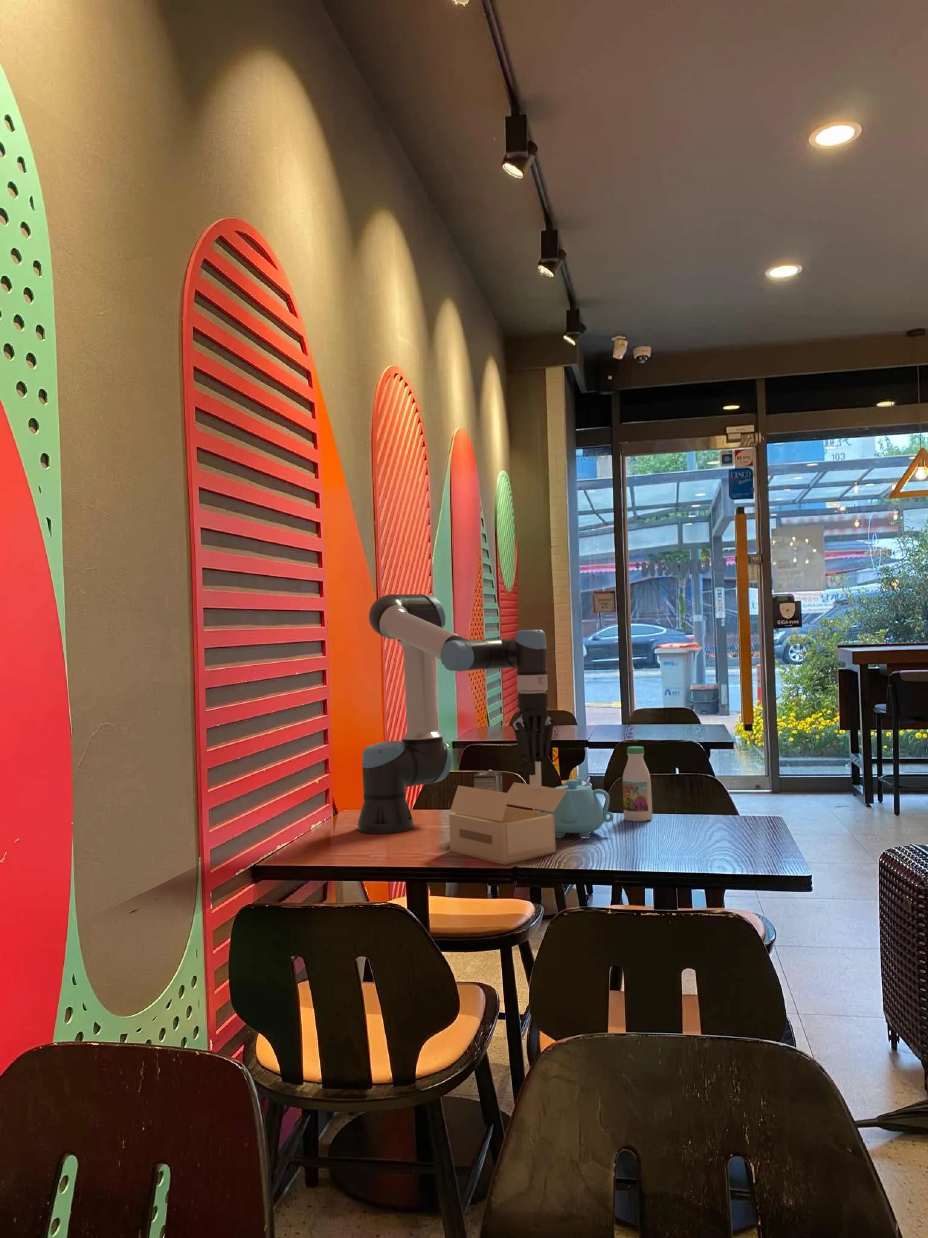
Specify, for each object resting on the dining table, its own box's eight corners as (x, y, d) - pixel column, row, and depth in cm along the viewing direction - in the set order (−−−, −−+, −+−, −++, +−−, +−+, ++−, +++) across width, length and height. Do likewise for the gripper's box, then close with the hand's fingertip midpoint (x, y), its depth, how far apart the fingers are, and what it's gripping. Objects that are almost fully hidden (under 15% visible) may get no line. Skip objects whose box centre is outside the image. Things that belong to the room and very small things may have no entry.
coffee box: (480, 831, 251) (478, 771, 252) (504, 831, 250) (502, 770, 251) (474, 838, 242) (472, 776, 243) (498, 838, 241) (496, 775, 242)
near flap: (450, 811, 228) (458, 785, 230) (450, 811, 228) (459, 785, 230) (500, 821, 213) (509, 793, 215) (501, 821, 213) (510, 793, 215)
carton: (449, 851, 229) (448, 814, 229) (500, 841, 238) (498, 805, 239) (504, 865, 212) (503, 824, 213) (556, 853, 222) (555, 815, 222)
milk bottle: (631, 816, 266) (628, 745, 266) (657, 818, 261) (654, 745, 262) (619, 820, 260) (616, 747, 260) (645, 823, 255) (642, 748, 256)
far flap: (500, 802, 238) (514, 782, 241) (501, 803, 238) (514, 783, 241) (552, 811, 223) (566, 789, 226) (553, 812, 223) (566, 790, 226)
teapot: (582, 825, 255) (580, 773, 256) (623, 837, 237) (621, 781, 238) (529, 832, 248) (527, 778, 249) (567, 845, 231) (565, 787, 231)
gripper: (522, 693, 227) (526, 792, 226) (562, 691, 234) (565, 786, 234) (502, 693, 233) (505, 789, 232) (541, 690, 240) (544, 783, 240)
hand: (535, 787), depth 233 cm, fingers closed
